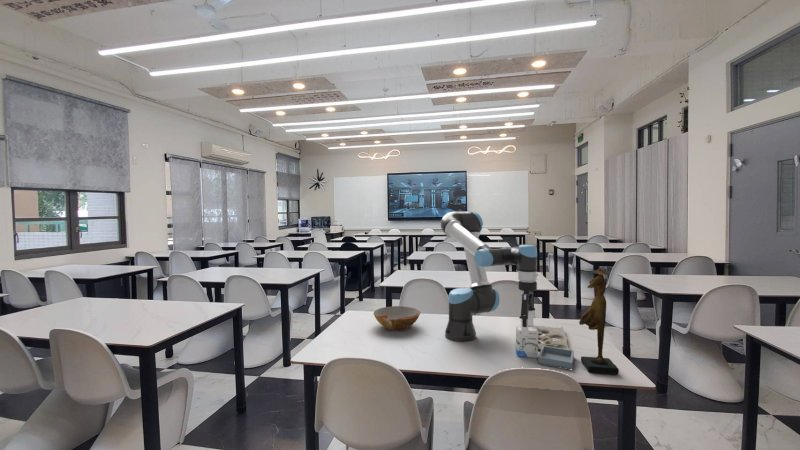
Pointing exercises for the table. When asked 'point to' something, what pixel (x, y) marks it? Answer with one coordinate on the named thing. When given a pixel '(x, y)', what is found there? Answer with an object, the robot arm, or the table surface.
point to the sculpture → (598, 326)
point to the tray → (556, 357)
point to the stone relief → (551, 333)
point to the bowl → (396, 317)
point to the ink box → (527, 343)
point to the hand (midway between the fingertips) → (527, 329)
